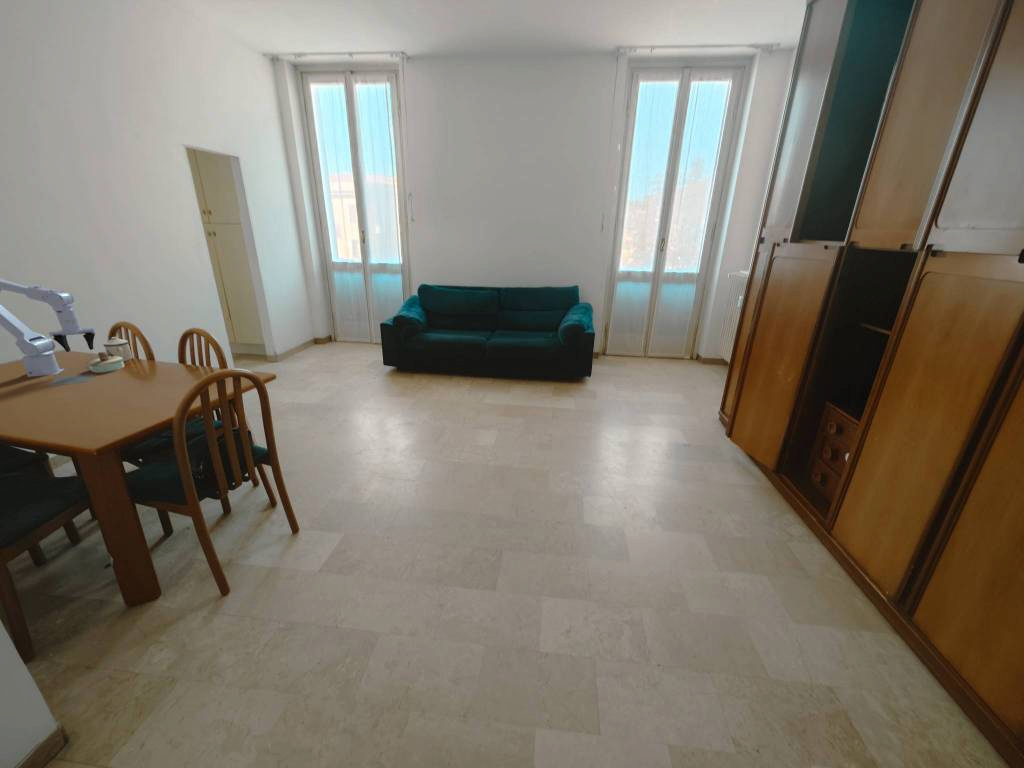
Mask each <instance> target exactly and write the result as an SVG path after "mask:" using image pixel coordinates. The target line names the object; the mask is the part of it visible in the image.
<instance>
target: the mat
mask: <svg viewBox="0 0 1024 768" xmlns="http://www.w3.org/2000/svg"><path fill="white" fill-rule="evenodd" d="M95 375H97V373H90V374H89V373H87V374H78V375H69V376H60V377H58V378H56V379H55V380H54V381H52V382H51V383H49V384H48V385H46V387H53V386H64V385H73V384H74V385H75V384H81V383H82V384H83V383H87V382H88V381H90V380H91V379H92V378H93V377H94V376H95Z"/></svg>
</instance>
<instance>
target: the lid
mask: <svg viewBox="0 0 1024 768" xmlns="http://www.w3.org/2000/svg"><path fill="white" fill-rule="evenodd" d="M97 355H98V358H93V359H90V360H88V361H86V366H88V367H90V366H101V365H108V364H113V363H117V362H120V361H122V360H123V358H122V357H119V356H111V357H108V355H107V352H106V351H100V352H98V353H97Z"/></svg>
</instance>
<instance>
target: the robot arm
mask: <svg viewBox="0 0 1024 768" xmlns="http://www.w3.org/2000/svg"><path fill="white" fill-rule="evenodd" d="M2 291H7V292H12V293H16V294H21V295H25V296H26V297H27V298H28V299H30V300H34V301H37V302H38V301H39V302H43V303H45V304H47V305H49V306H50V307H52V310H53V311H54V313H55V315H56V317H57V318H56V319H57V320H58V322H59V324H60V327H61V330H53V331H48V334H49V337H51V338H52V339H53V340H54V341H53V340H52V339H51V338H49V337H46V336H45V335H43V334H42V333H40V332H35V331H33V330H31V329H30V328H29V327H27V326H26V325H25V324H24V323H23V322H22V321H21V320H20V319H18V318H17V317H16V316H15V315H14V314H12V313H11V312H10V311H9V310H7V309H6V308H5V307H4V306H3V305H2V304H1V303H0V326H1V327H2V328H3V329H4V330H6V332H8V333H10V334H11V335H12V336H13V337H15V338H16V341H15V345H16V347H18V348H19V350H20V352H21V353H22V355H24V356H23V357H22V358H21V363H22V366H23V368H24V370H25V373H26V375H27V378H31V377H42V376H51V375H57V374H59V373H60V372H62V371H64V370H65V368H60V367H59V363H58V362H57V359H56V356H55V354H54V350H55V349H56V344H55V342H57V343H58V344H59V345H60V346H61V347H62V348H63V349H64V351H66V353H69V352H71V347H70V345H69V341H68V340H67V336H72V335H82V337H83V338H84V339H85V342H86V344H87V347H88V348H89V350H90V351H92V350H94V349H95V348H94V341H95V340H94V339H95V336H96V334H97V333H98V332H97V329H96V327H93V328H91V327H89V328H82V327H81V324H80V321H79V319H78V316H77V314H76V311H75V309H74V306H73V303H74V301H75V299H74V298H75V297H74V296H73V295H72V294H71V293H69V292H68V291H65V290H61V291H57V290H56V289H48V288H46V287H45V288H44V287H42V286H41V285H30V286H27V285H23V284H19V283H17V282H13V281H10V280H7V279H4V278H2V277H0V293H1V292H2Z"/></svg>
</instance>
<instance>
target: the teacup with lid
mask: <svg viewBox="0 0 1024 768" xmlns="http://www.w3.org/2000/svg"><path fill="white" fill-rule="evenodd" d="M103 346H104V349H105V352H106V353H107V356H108V357H111V356H119V357H122V358H123V362H126V361H127V362H128V361H131V360H132V359H134V355H133V354H132V351H131V347H130V345H129V341H128V340H126V339H123V338H122V339H121V338H118V337H117V336H112V337H111V339H109V340H108V341H105V342H103Z"/></svg>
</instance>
